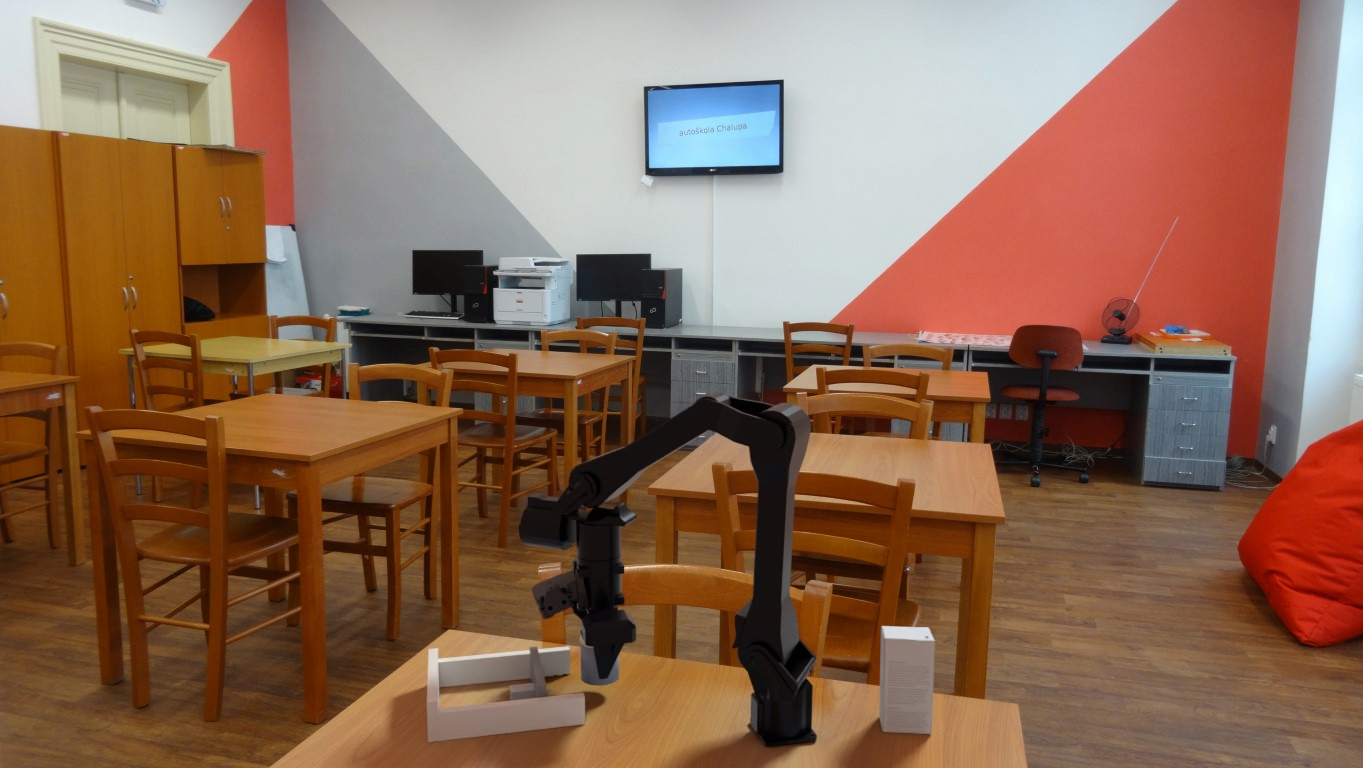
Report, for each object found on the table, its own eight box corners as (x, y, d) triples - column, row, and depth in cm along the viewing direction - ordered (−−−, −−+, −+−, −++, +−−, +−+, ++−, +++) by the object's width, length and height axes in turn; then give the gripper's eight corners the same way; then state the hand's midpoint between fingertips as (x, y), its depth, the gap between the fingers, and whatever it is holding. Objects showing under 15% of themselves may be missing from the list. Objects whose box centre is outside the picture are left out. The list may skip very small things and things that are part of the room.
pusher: (537, 677, 129) (537, 646, 128) (546, 719, 117) (546, 685, 117) (507, 680, 128) (506, 649, 127) (513, 722, 117) (513, 688, 116)
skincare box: (926, 718, 119) (930, 626, 117) (932, 735, 115) (936, 640, 113) (877, 715, 119) (880, 624, 118) (880, 732, 115) (884, 638, 113)
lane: (569, 670, 132) (568, 635, 131) (585, 724, 117) (584, 685, 116) (430, 684, 127) (428, 648, 127) (428, 742, 112) (426, 702, 112)
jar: (616, 666, 128) (616, 625, 127) (623, 683, 123) (623, 640, 122) (577, 670, 126) (577, 628, 126) (582, 687, 121) (582, 644, 121)
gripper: (529, 537, 129) (531, 646, 131) (542, 584, 111) (545, 709, 114) (610, 531, 132) (611, 639, 134) (636, 576, 114) (637, 699, 116)
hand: (600, 669), depth 124 cm, fingers closed on jar, 5 cm apart
